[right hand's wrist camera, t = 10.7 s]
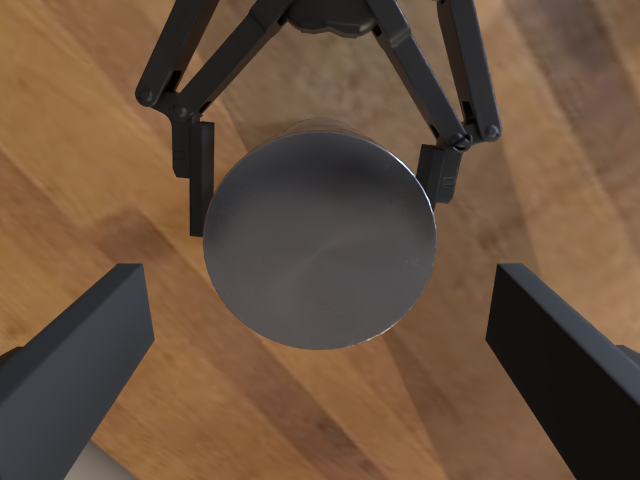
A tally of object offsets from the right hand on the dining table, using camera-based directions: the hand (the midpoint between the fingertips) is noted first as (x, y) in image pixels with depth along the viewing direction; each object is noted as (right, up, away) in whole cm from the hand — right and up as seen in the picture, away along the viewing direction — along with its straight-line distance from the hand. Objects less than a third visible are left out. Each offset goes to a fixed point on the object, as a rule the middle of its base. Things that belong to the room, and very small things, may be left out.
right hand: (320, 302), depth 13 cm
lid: (0, +2, +5) cm, 5 cm away
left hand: (-1, +2, +14) cm, 14 cm away
